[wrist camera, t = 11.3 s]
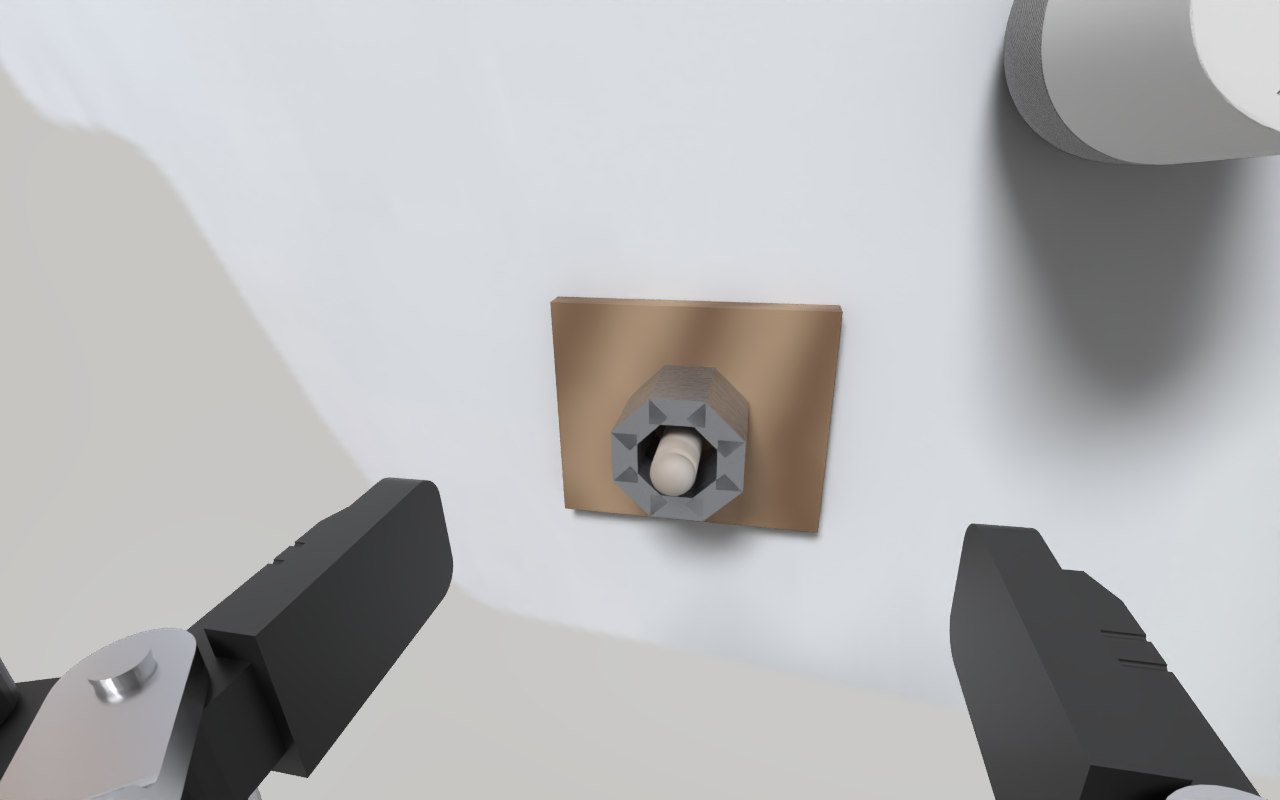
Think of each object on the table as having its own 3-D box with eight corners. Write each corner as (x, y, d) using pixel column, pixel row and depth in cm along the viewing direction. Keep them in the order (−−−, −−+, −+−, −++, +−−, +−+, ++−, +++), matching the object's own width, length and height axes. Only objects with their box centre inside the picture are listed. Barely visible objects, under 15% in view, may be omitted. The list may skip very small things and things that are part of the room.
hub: (750, 369, 30) (747, 404, 26) (745, 476, 32) (741, 525, 28) (630, 363, 31) (609, 396, 27) (632, 467, 34) (613, 513, 30)
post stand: (839, 305, 29) (861, 356, 22) (816, 520, 34) (827, 617, 27) (557, 296, 32) (498, 340, 25) (571, 497, 37) (524, 581, 30)
